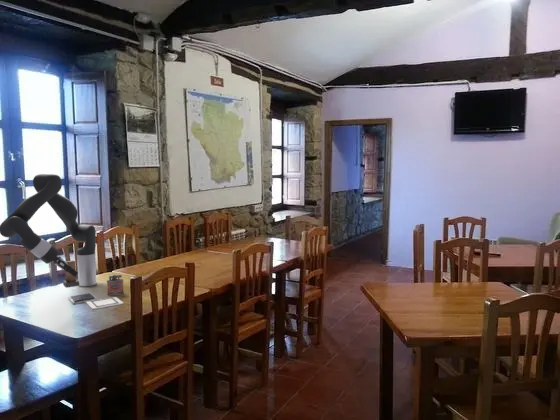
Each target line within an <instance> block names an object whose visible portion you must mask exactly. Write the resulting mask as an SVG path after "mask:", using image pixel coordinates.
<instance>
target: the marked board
mask: <svg viewBox="0 0 560 420" xmlns="http://www.w3.org/2000/svg"><path fill="white" fill-rule="evenodd" d="M85 304H87V305H88V306H89V307H90V308H91V309H92V310H98V309H104V308H109V307H115V306H120V305H124V302H123V301H122V300H121V299H120V298H118V297H117V296H114V297H106V298H102V299H101V298H100V299H97V300H94V301H89V302H85Z"/></svg>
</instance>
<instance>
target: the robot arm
mask: <svg viewBox="0 0 560 420" xmlns="http://www.w3.org/2000/svg"><path fill="white" fill-rule="evenodd" d="M62 181H63V180H62V178H61V176H60V175H58V174H54V173H52V174H51V173H39V174H36V175H35V176H34V177H33V179H32V185H33V188H34V190H35V191H36V193H35V194H33V195H31V196H28V197H27V198H25V199H24V200H23V201H22V202H21V203H19V205H18V206H17V207H16V208H15V209H14V210H13V212H12V213H11V214H10V215H9V216H8V217H6V218H5V219H4V220H3V221H2V223H0V235H1V236H2V237H4V238H12V237H15V236H16V235H18V236H19V238H20V239H19V243H20V245H21V246H23V248H25V249H26V250H28V251H29V252H30V253H31V254H33V255H34V256H35V257H36V258H37V259H39V260H40V261H42V262H44V263H45V264H50V263H51V262H52V263H53V265H55V266H56V267H58V268H60V269H61V270H64V271H65V270H66V267H67V266H68V269H67V270H66V272H69V273H70V274H72V275H73V276H74V277H75V276H76V277H77V280H78V281H79V286H78V287H92V286H95V285H97V267H96V265H97V264H96V262H97V261H96V241H97V240H96V237H97V235H96V233H97V232H96V228H95V226H94V225H93V224H80V223H78V221H77V218H78V214H79V213H78V209H77V207H76V206H75V205H74V203H73V202H72V200H71V199H69V198H67V197H66V196H64V195H62V194H60V193H59V192H60V191H61V190H62V188H63V182H62ZM46 203H47V204H48V205H49V206H50V207H51V209H52V210H53V211H54V212H55V214H56V215H57V216H58V218H59V219H60V221H62V222H63V224H64V225H65V227H66V229H67V230H68V232H69V233H70V235H71V237H72V239H73V240H74V241H76V242H81V243H85V245H84V246H82V247H80V248H77V250H76V264H77V265H76V266H77V271H75V270H74V269H72V268H71V266H69V265H68V263H67V262H66V261H67V260H64V258H63V257H61V255H60V256H59V253H60V250H59V249H58V248H56V247H55V246H54V245H52V243H50V242H48V241H47V240H45V239H44V238H42V237H41V236H39V235H38V233H36V232H34V230H33V229H32V228H31V226H30V225H29V224H28V223H27V222H29V221H30V220H31V219H32V218H33V216H34V215H35V214H36V212H37V211H38V210H39V209H40V208H41V207H42V206H44V204H46Z"/></svg>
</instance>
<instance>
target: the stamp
mask: <svg viewBox="0 0 560 420" xmlns="http://www.w3.org/2000/svg"><path fill="white" fill-rule="evenodd" d="M65 261H66V262H67V263H68V265H69V266H71V268H72V269H74V270H75V271H76V261H75V260H65ZM67 269H68V266H67V267H66V270H67ZM66 270H64V271H65V280H62V284H63V287H65V288H67V289H68V288H72V287H80V286H79V281H78V278H77V275H76V276H75V277H74V276H73V275H72V274H70V273H69V272H66ZM76 272H77V271H76Z"/></svg>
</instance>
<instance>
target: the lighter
mask: <svg viewBox="0 0 560 420" xmlns="http://www.w3.org/2000/svg"><path fill="white" fill-rule="evenodd" d="M122 277H123V275H122V274H117V275H116V274H113V275H109V276H108V279H107V280H106V286H107V287H106V289H107V290H106V291H107V296H117V295H119V296H120V295H124V294H125V291H124V279H123V278H122Z"/></svg>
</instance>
